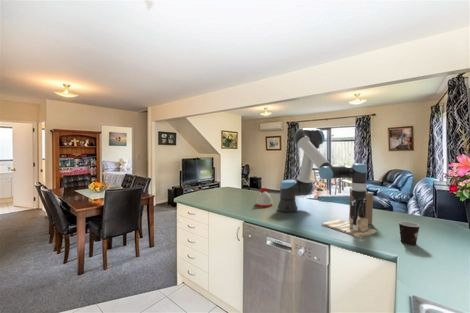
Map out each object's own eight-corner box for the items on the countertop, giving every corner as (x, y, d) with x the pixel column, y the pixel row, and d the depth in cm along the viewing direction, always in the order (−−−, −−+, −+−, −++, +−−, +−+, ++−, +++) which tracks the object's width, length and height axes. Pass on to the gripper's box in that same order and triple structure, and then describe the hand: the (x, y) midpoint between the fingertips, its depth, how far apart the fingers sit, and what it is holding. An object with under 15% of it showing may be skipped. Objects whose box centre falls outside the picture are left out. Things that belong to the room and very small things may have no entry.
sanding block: (349, 228, 139) (349, 216, 139) (354, 226, 142) (354, 215, 141) (363, 232, 132) (363, 220, 132) (367, 230, 135) (367, 219, 135)
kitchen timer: (253, 203, 202) (253, 186, 201) (266, 202, 207) (266, 185, 207) (261, 207, 189) (261, 189, 188) (275, 206, 195) (275, 188, 194)
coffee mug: (409, 239, 126) (410, 221, 126) (423, 246, 118) (424, 226, 117) (388, 239, 126) (389, 221, 125) (400, 246, 117) (401, 227, 117)
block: (360, 225, 148) (361, 194, 147) (348, 220, 158) (349, 191, 157) (372, 224, 151) (373, 193, 150) (360, 219, 160) (361, 190, 159)
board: (322, 225, 148) (322, 223, 148) (336, 220, 157) (337, 218, 157) (361, 238, 128) (361, 236, 128) (376, 232, 136) (376, 230, 136)
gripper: (356, 192, 128) (355, 234, 129) (373, 189, 138) (372, 228, 139) (344, 190, 134) (343, 230, 135) (360, 187, 144) (359, 224, 145)
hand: (358, 229), depth 137 cm, fingers closed on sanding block, 5 cm apart
